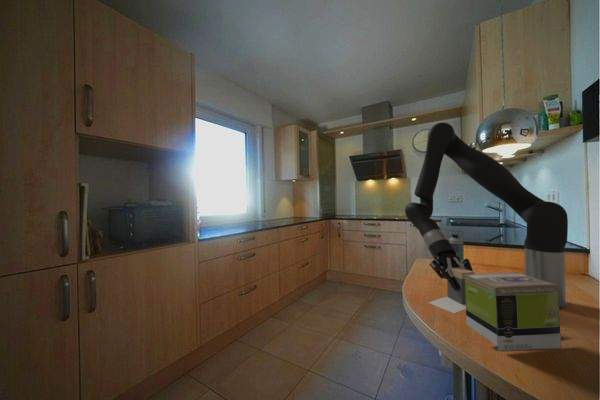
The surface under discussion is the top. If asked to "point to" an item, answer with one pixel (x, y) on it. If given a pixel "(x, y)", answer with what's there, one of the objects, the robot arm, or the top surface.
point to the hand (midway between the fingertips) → (465, 289)
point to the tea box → (513, 310)
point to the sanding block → (460, 278)
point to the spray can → (457, 245)
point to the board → (448, 304)
